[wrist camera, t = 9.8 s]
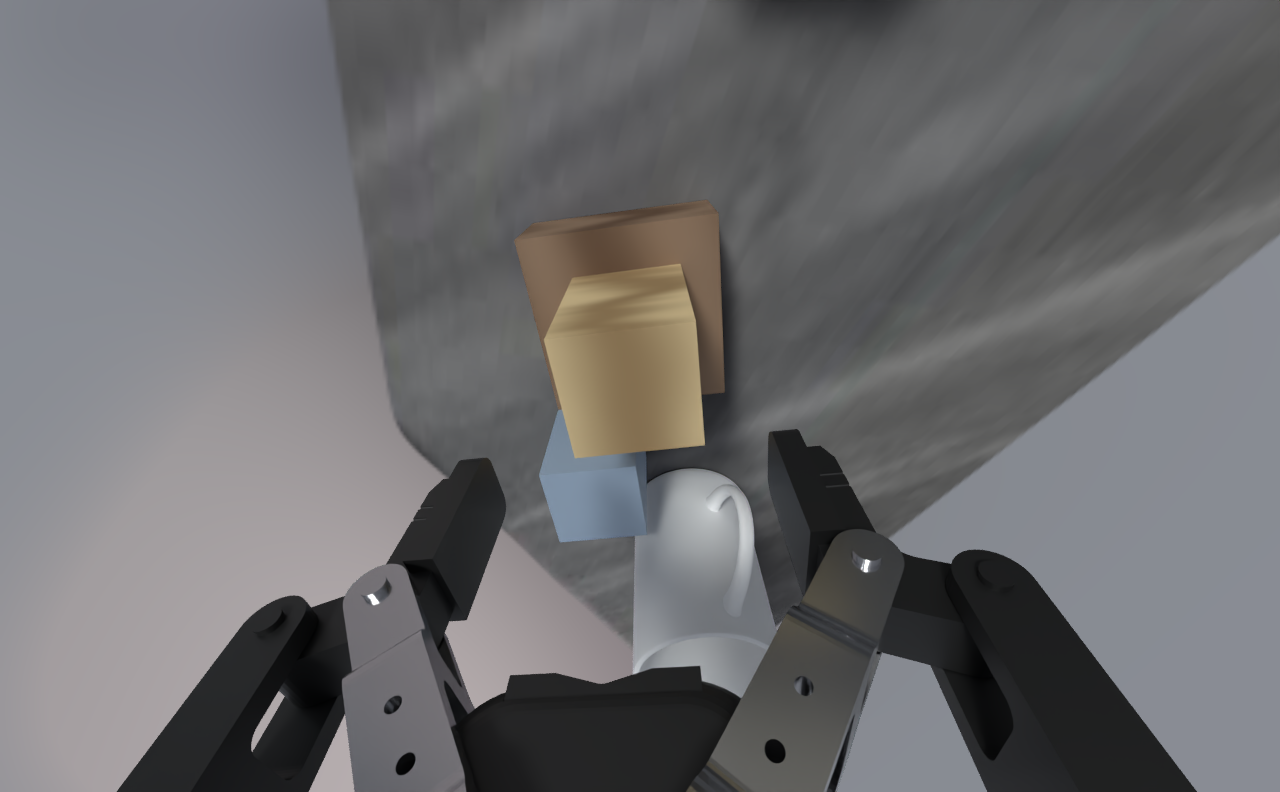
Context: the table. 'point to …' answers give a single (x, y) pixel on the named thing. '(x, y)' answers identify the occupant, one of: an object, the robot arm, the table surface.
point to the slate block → (593, 490)
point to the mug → (700, 581)
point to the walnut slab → (631, 266)
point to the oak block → (627, 362)
